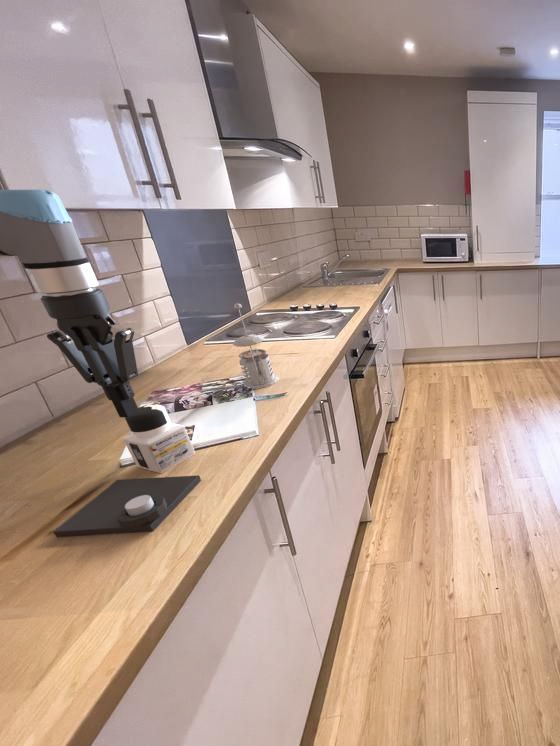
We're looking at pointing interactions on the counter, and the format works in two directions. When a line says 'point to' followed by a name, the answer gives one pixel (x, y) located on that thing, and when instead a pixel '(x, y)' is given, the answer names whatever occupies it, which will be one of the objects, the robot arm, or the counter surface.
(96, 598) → the counter surface
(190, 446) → the container
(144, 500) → the button
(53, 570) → the counter surface
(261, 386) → the french press
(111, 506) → the scale
